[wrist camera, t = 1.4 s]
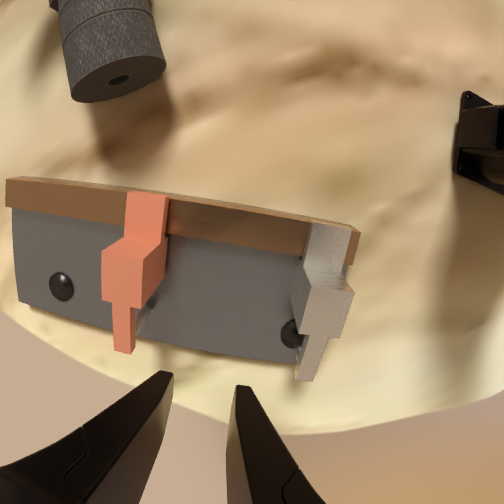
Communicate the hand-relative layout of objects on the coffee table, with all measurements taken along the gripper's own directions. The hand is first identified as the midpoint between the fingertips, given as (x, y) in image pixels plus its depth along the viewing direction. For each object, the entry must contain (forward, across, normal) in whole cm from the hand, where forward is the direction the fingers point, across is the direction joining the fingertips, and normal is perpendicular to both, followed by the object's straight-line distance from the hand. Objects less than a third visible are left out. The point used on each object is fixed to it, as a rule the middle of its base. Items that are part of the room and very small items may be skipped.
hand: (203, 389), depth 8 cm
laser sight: (+12, +13, -20) cm, 27 cm away
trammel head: (+10, +5, 0) cm, 12 cm away
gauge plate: (+12, +5, +1) cm, 13 cm away
